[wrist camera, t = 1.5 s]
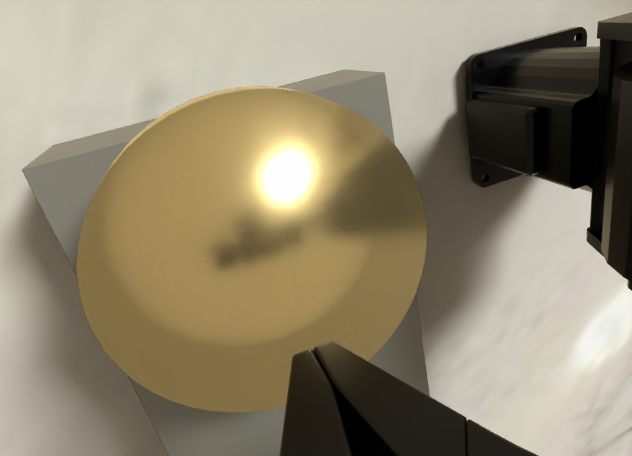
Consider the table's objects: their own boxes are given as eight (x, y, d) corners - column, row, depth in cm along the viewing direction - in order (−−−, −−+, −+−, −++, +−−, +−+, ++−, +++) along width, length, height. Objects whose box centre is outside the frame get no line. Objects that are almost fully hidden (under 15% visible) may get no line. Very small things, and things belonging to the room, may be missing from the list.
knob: (343, 49, 16) (405, 47, 12) (383, 283, 20) (440, 344, 16) (49, 123, 14) (-3, 152, 10) (162, 364, 18) (159, 458, 14)
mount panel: (344, 69, 19) (384, 72, 15) (410, 448, 29) (444, 503, 25) (52, 145, 17) (21, 169, 13) (233, 528, 27) (243, 601, 23)
